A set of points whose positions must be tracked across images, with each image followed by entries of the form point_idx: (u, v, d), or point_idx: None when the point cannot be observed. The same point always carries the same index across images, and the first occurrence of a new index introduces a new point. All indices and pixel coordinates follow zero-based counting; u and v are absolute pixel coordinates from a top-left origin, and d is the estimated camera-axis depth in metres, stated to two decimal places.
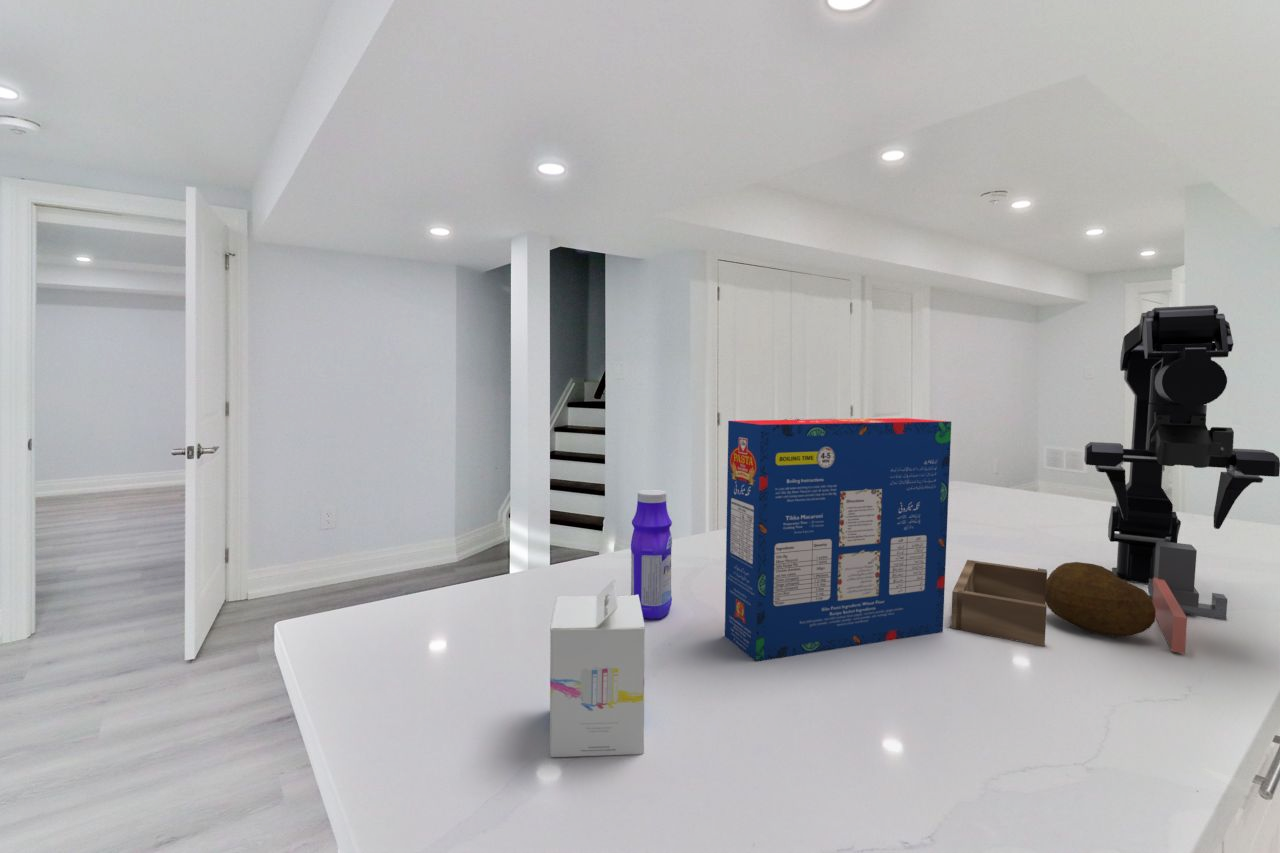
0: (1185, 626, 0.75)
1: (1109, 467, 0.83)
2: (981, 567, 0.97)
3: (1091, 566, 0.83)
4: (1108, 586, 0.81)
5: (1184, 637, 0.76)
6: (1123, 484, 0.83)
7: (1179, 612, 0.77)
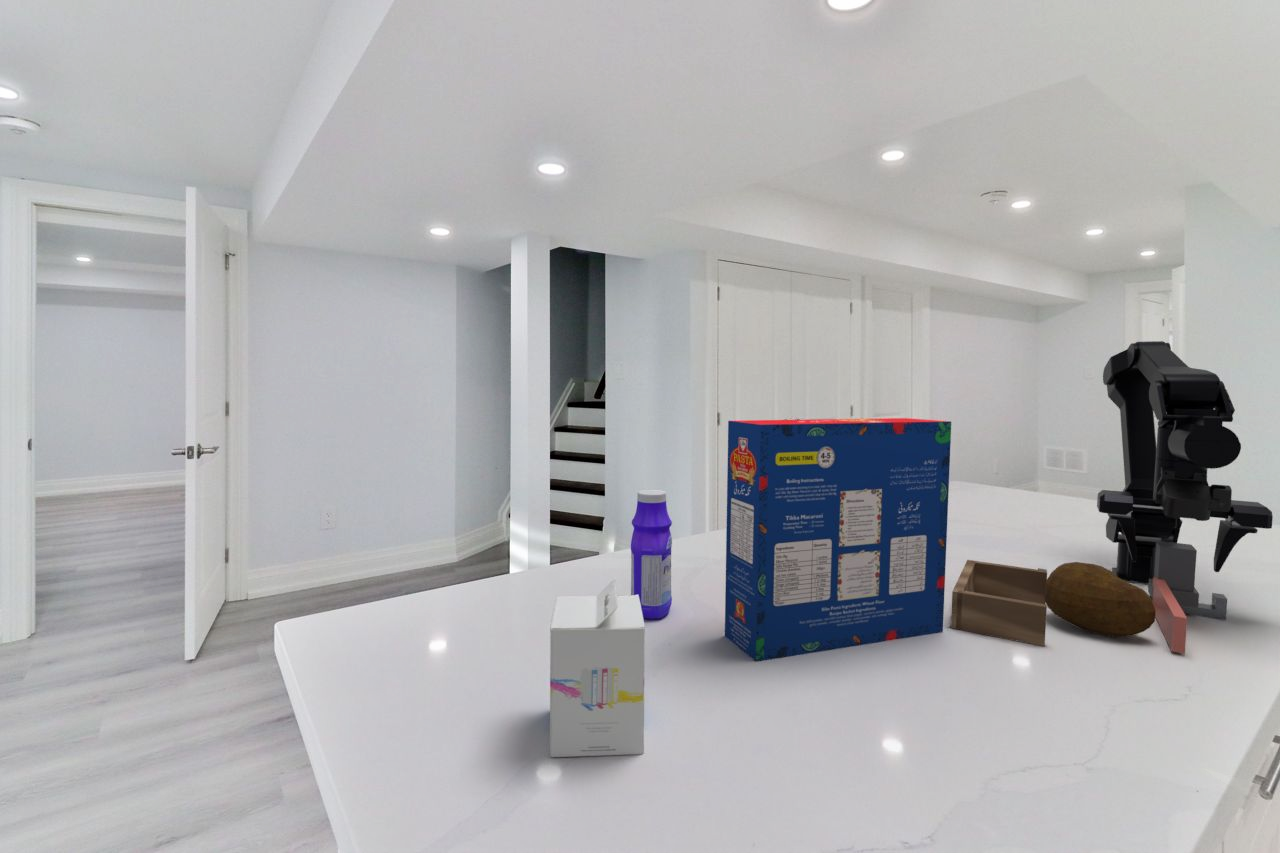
0: (1185, 626, 0.75)
1: (1120, 515, 0.93)
2: (981, 567, 0.97)
3: (1091, 566, 0.83)
4: (1108, 586, 0.81)
5: (1184, 637, 0.76)
6: (1132, 530, 0.93)
7: (1179, 612, 0.77)
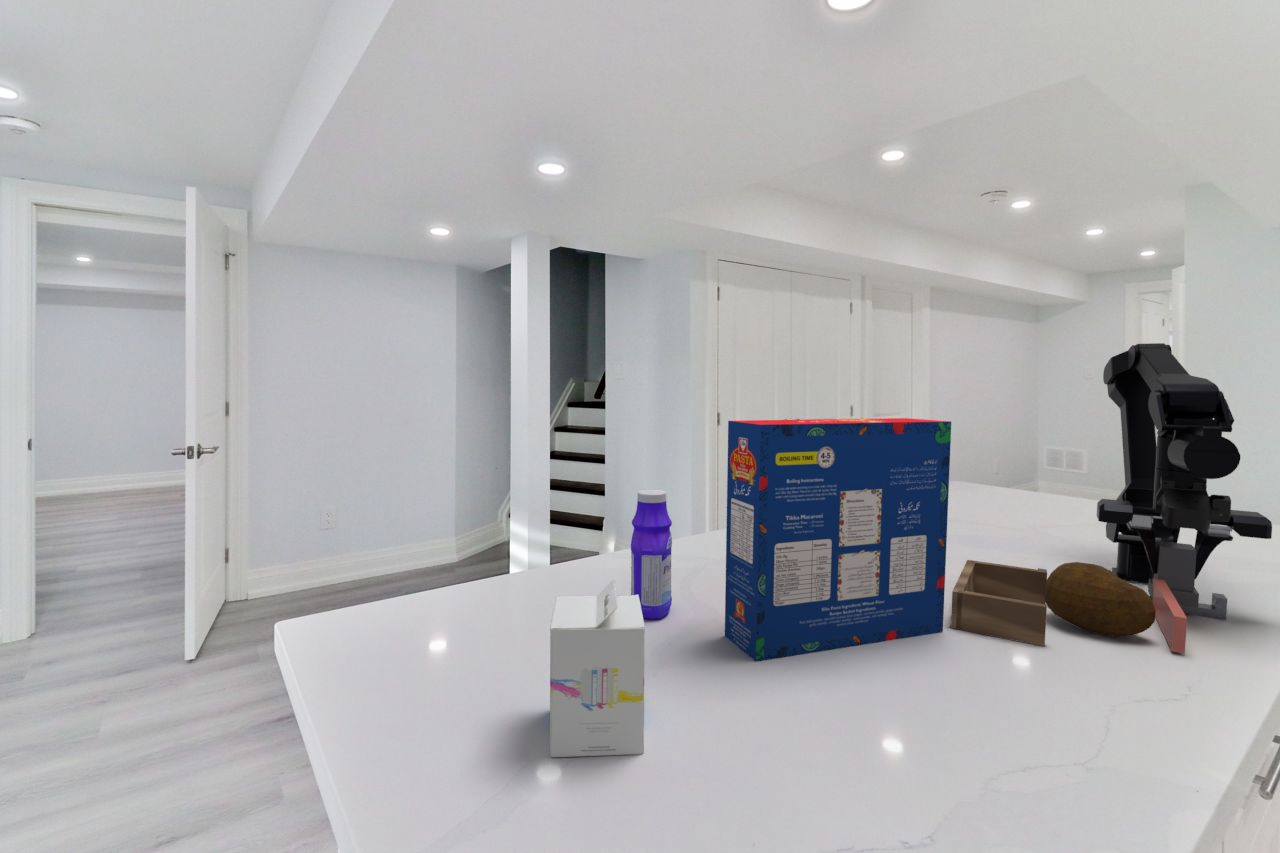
0: (1185, 626, 0.75)
1: (1140, 526, 0.91)
2: (981, 567, 0.97)
3: (1091, 566, 0.83)
4: (1108, 586, 0.81)
5: (1184, 637, 0.76)
6: (1153, 542, 0.91)
7: (1179, 612, 0.77)
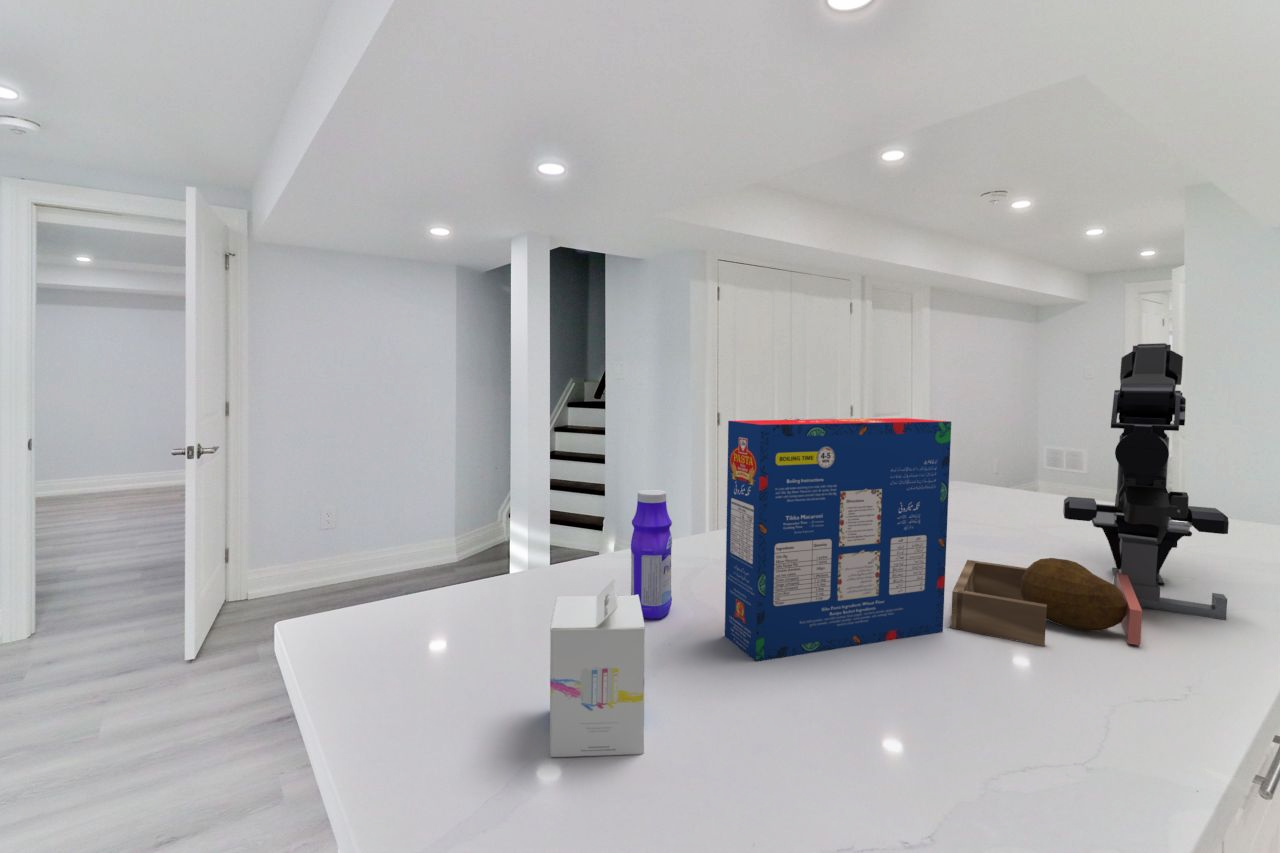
0: (1140, 619, 0.78)
1: (1104, 523, 0.94)
2: (981, 567, 0.97)
3: (1065, 562, 0.85)
4: (1080, 581, 0.82)
5: (1139, 629, 0.78)
6: (1116, 538, 0.94)
7: (1135, 605, 0.80)
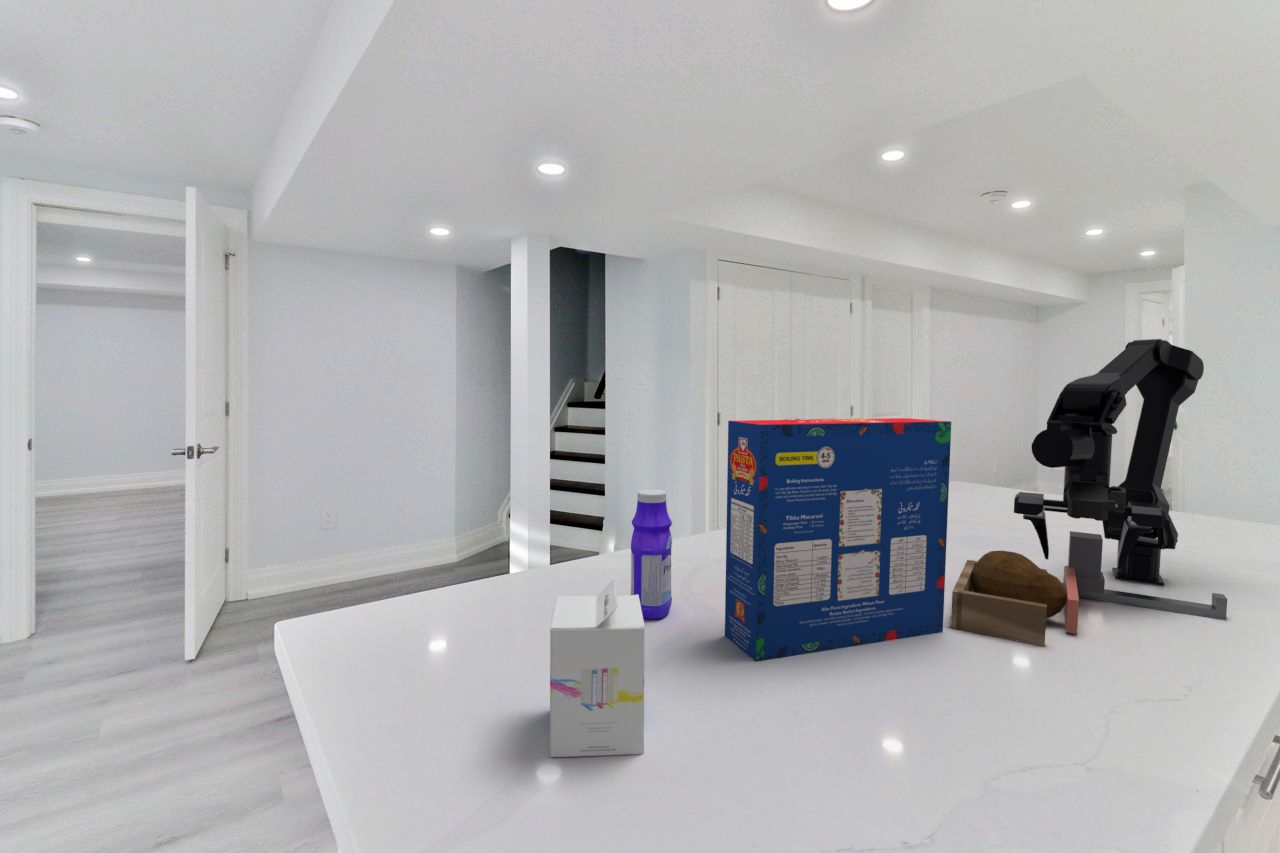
0: (1077, 608, 0.81)
1: (1032, 515, 0.99)
2: None
3: (1010, 554, 0.89)
4: (1020, 572, 0.86)
5: (1076, 618, 0.81)
6: (1044, 530, 0.99)
7: (1073, 596, 0.83)
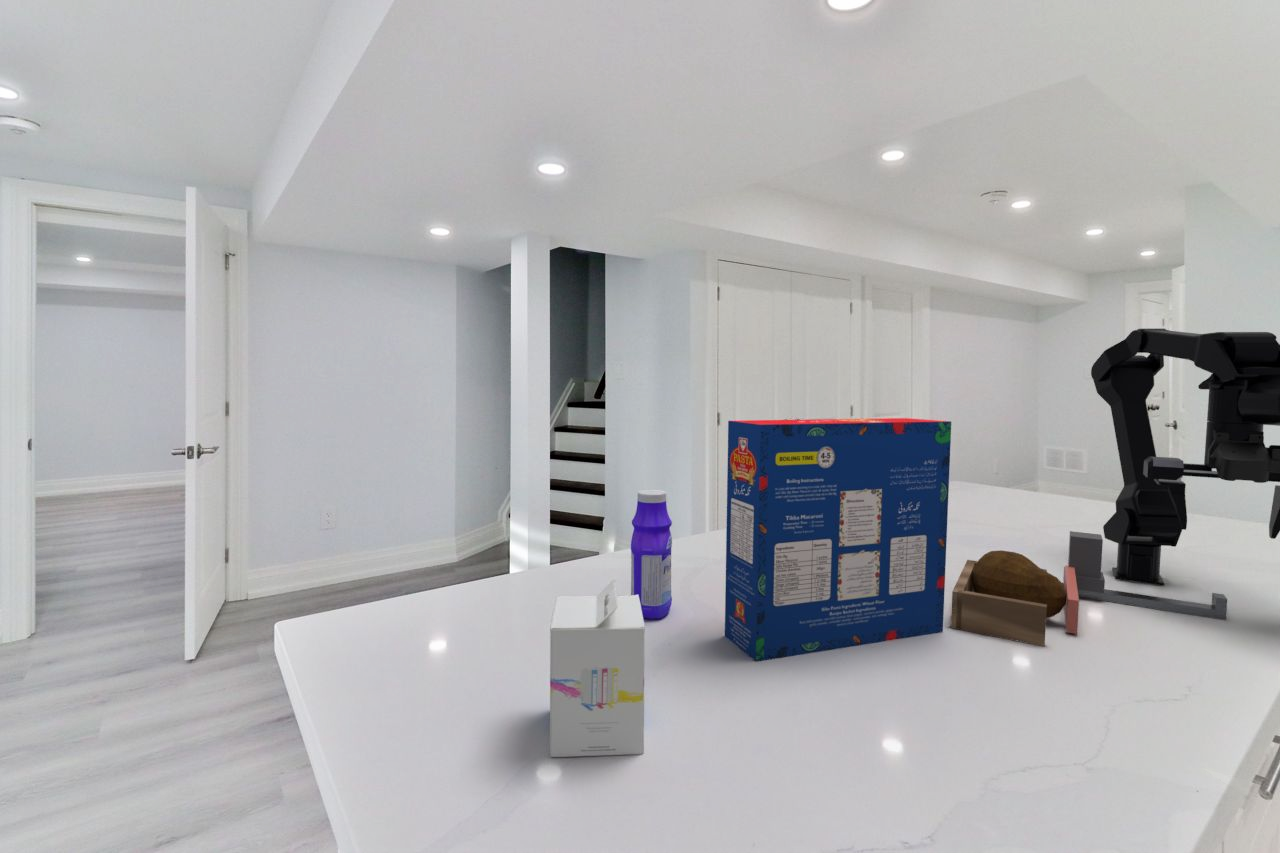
0: (1077, 608, 0.81)
1: (1169, 480, 0.89)
2: None
3: (1010, 554, 0.89)
4: (1021, 572, 0.86)
5: (1076, 618, 0.81)
6: (1183, 496, 0.89)
7: (1073, 596, 0.83)
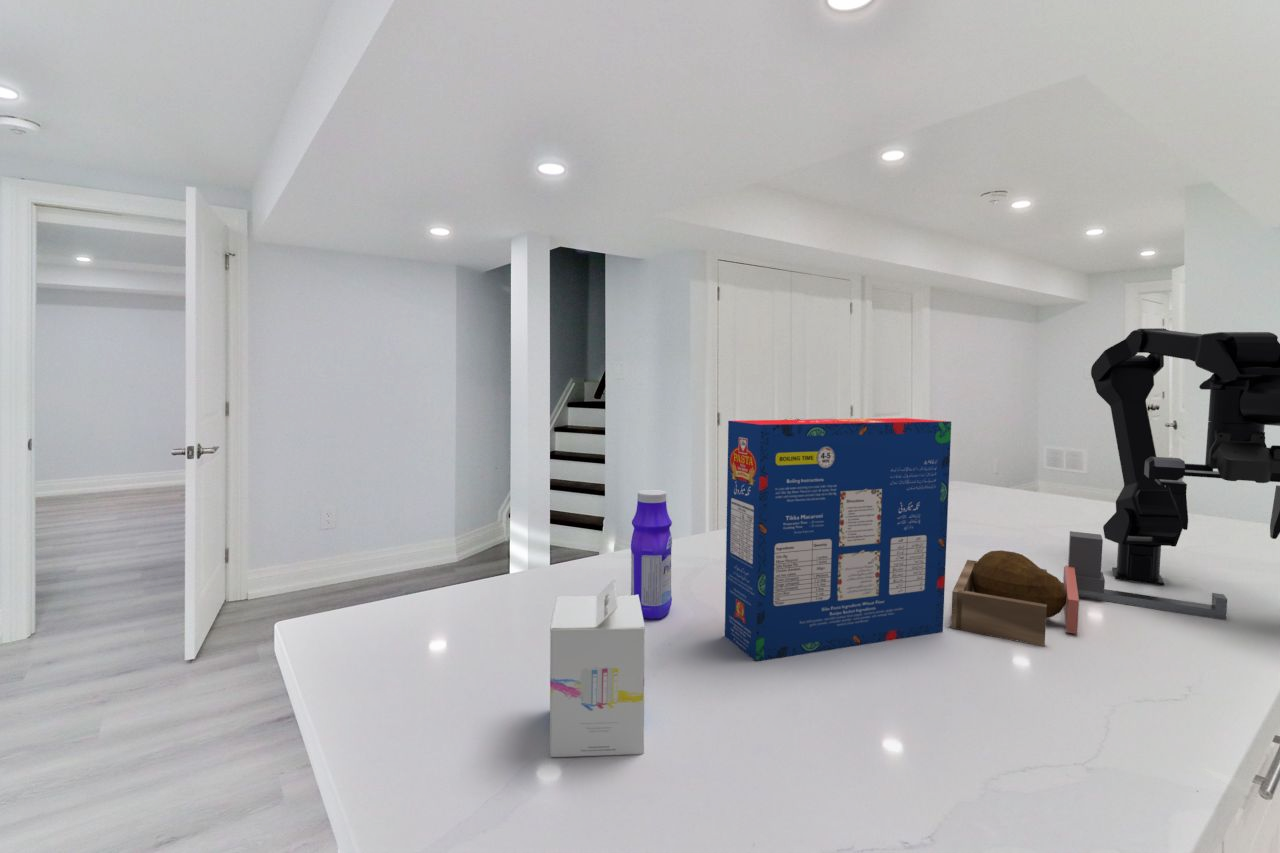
0: (1077, 608, 0.81)
1: (1171, 481, 0.89)
2: None
3: (1010, 554, 0.89)
4: (1020, 572, 0.86)
5: (1076, 618, 0.81)
6: (1184, 497, 0.89)
7: (1073, 596, 0.83)
